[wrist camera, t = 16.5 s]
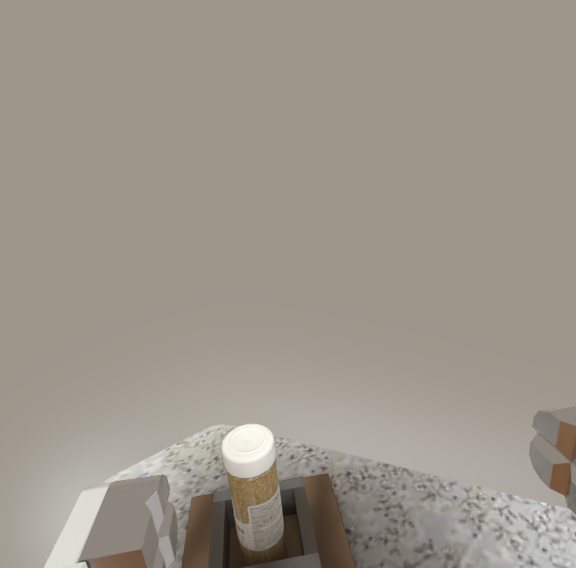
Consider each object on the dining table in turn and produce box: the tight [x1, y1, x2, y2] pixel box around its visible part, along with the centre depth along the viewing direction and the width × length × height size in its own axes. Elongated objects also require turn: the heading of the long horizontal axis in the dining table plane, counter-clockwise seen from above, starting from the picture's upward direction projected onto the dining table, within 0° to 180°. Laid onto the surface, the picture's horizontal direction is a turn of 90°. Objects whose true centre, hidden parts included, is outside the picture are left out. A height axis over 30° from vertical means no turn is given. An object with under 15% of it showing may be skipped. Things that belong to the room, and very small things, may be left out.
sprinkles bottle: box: [221, 424, 287, 567], centre depth 33 cm, size 5×5×14 cm
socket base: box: [182, 474, 355, 568], centre depth 35 cm, size 16×16×5 cm
